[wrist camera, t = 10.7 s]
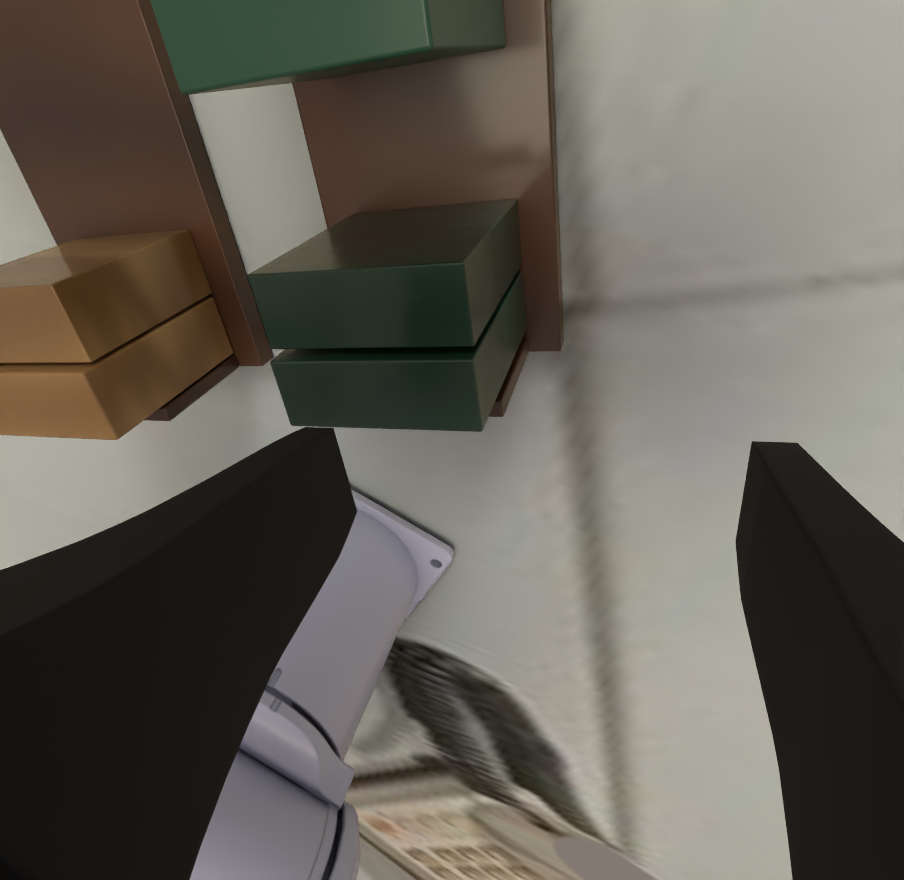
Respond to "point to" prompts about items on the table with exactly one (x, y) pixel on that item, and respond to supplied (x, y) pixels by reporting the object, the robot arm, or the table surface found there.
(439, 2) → the green book
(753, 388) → the table surface
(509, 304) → the green rack
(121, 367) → the tan rack
